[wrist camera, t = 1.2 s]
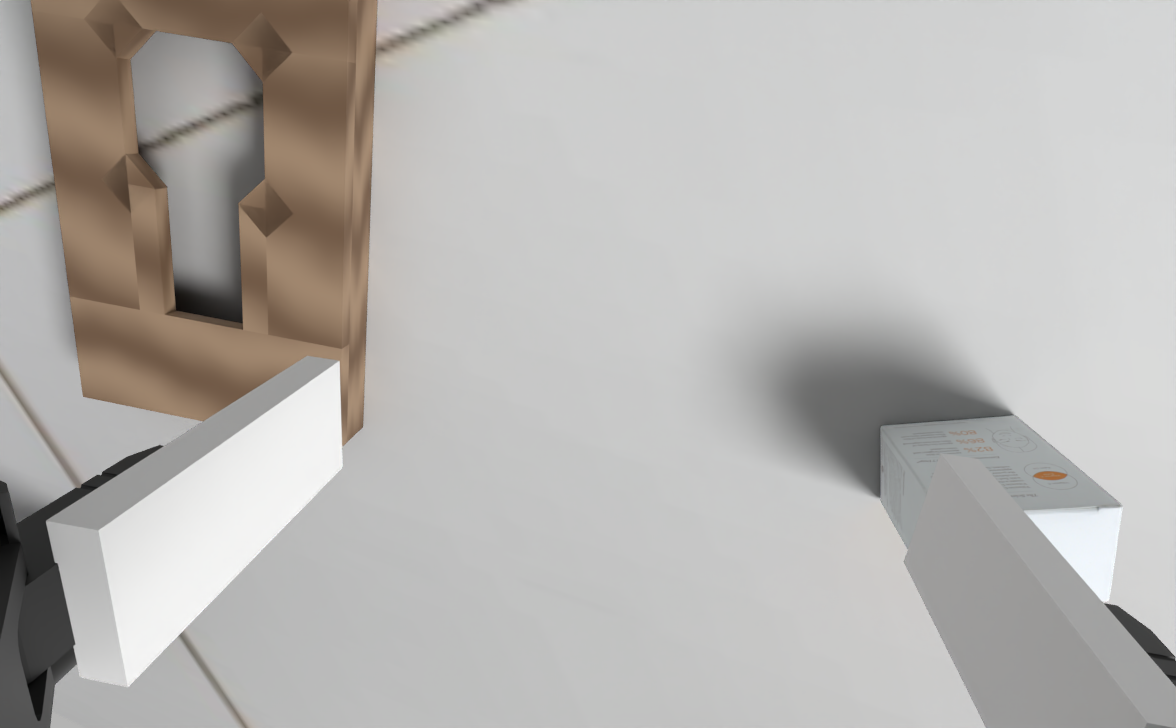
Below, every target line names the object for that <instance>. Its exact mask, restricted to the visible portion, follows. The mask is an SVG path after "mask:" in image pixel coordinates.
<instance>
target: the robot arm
mask: <svg viewBox="0 0 1176 728" xmlns="http://www.w3.org/2000/svg"><path fill="white" fill-rule="evenodd" d="M342 468H343V462H342V428H341V394H340V361H338V360H332V359H325V358H319V357H312V356H306V357H305V358H303V359H301V360H300V361H298V362H297V363H295V364H293V365H292V366H290V367H289V368H287V369H286V370H284V371H282V372H281V373H279V374H278V375H276V376H274V377H273V378H271V379H270V380H268V381H266V382H265V383H263V384H262V385H260V386H259V387H257V388H255V389H254V390H252V391H251V392H249V393H247V394H246V395H244V396H243V397H241V398H240V399H238V400H236V401H235V402H233V403H232V404H230V405H228V406H227V407H225V408H224V409H222V410H221V411H219V412H217V413H216V414H214V415H213V416H211V417H209V418H208V419H206V420H205V421H203V422H201V423H200V424H198V425H197V426H195V427H194V428H192V429H190V430H189V431H187V432H186V433H184V434H182V435H181V436H179V437H178V438H176V439H175V440H173V441H171V442H170V443H168V444H167V445H165V446H161V445H159V446H156V447H153V448H150V449H147V450H145V451H142V452H139V453H136V454H133V455H131V456H128V457H126V458H124V459H123V460H121V461H119V462H118V463H116V464H114V465H113V466H111V467H110V468H108V469H106V470H105V471H103V472H102V475H96V476H95V477H93V478H91V479H90V480H88V481H87V482H85V483H83V484H82V485H81V488H75V489H73V490H72V491H70V492H68V493H67V494H65V495H63V496H62V497H60V498H59V499H57V500H55V501H54V502H52V503H50V504H49V505H47V506H45V507H44V508H42V509H40V510H39V511H37V512H36V513H34V514H32V515H31V516H29V517H27V518H26V519H24V520H22V521H21V522H19V523H17V524H16V520H15V516H14V512H13V508H12V503H11V499H10V495H9V491H8V487H7V484H6V483H4V482H2V481H0V728H50V723H51V714H52V705H53V696H54V687H55V683H54V679H53V675H52V671H51V665H52V664H53V663H55V662H56V661H57V660H58V659H59V658H60V657H61V656H63V655H64V654H65V653H66V652H67V651H68V650H70V649H71V648H72V647H74V652H75V656H76V661H77V665H78V670H79V674H80V678H85V679H90V680H95V681H100V682H105V683H110V684H114V685H119V686H124V687H129V686H130V685H131V684H132V683H133V681H134V680H135V679H136V678H137V677H138V676H139V675H140V674H141V673H142V672H143V671H144V670H145V669H146V668H147V667H148V666H149V665H150V664H151V663H152V662H153V661H154V660H155V659H156V658H157V657H158V656H159V655H160V654H161V653H162V652H163V651H164V650H165V649H166V648H167V647H168V646H169V645H170V644H171V643H172V642H173V641H174V640H175V639H176V637H177V636H178V635H179V634H180V633H181V632H182V631H183V630H184V629H185V628H186V627H187V626H188V625H189V624H190V623H191V622H192V621H193V620H194V619H195V618H196V617H197V616H198V615H199V614H200V613H201V612H202V611H203V610H204V609H205V608H206V607H207V606H208V605H209V604H210V603H211V602H212V601H213V600H214V599H215V598H216V597H217V596H218V594H219V593H220V592H221V591H222V590H223V589H224V588H225V587H226V586H227V585H228V584H229V583H230V582H231V581H232V580H233V579H234V578H235V577H236V576H237V575H238V574H239V573H240V572H241V571H242V570H243V569H244V568H245V567H246V566H247V565H248V564H249V563H250V562H251V561H252V560H253V559H254V558H255V557H256V556H257V555H258V554H259V553H260V551H261V550H262V549H263V548H264V547H265V546H266V545H267V544H268V543H269V542H270V541H271V540H272V539H273V538H274V537H275V536H276V535H277V534H278V533H279V532H280V531H281V530H282V529H283V528H284V527H285V526H286V525H287V524H288V523H289V522H290V521H291V520H292V519H293V518H294V517H295V516H296V515H297V514H298V513H299V512H300V511H301V510H302V509H303V507H304V506H305V505H306V504H307V503H308V502H309V501H310V500H311V499H312V498H313V497H314V496H315V495H316V494H317V493H318V492H319V491H320V490H321V489H322V488H323V487H324V486H325V485H326V484H327V483H328V482H329V481H330V480H331V479H332V478H333V477H334V476H335V475H336V474H337V473H338V472H339V471H340V470H341V469H342ZM904 563H905V565H906V567H907V569H908V571H909V573H910V575H911V577H912V579H913V581H914V583H915V586H916V588H917V590H918V592H919V594H920V596H921V598H922V600H923V602H924V604H925V606H926V608H927V610H928V612H929V614H930V616H931V618H932V620H933V622H934V624H935V626H936V628H937V630H938V632H939V634H940V636H941V638H942V640H943V642H944V644H945V646H946V648H947V650H948V652H949V654H950V656H951V658H952V660H953V662H954V664H955V666H956V668H957V670H958V672H959V674H960V676H961V678H962V680H963V682H964V684H965V686H966V688H967V690H968V692H969V694H970V696H971V698H972V700H973V702H974V704H975V706H976V708H977V710H978V712H979V714H980V716H981V719H982V721H983V723H984V725H985V727H986V728H1176V661H1175V658H1176V657H1175V656H1174V655H1173V654H1172V653H1171V652H1170V651H1169V650H1168V648H1167V647H1166V646H1165V645H1164V644H1163V643H1162V642H1161V641H1160V640H1159V639H1158V637H1157V636H1156V635H1155V634H1154V633H1153V632H1152V631H1151V630H1150V629H1148V628H1147V627H1146V626H1144V625H1143V624H1142V623H1140V622H1139V621H1137V620H1136V619H1135V618H1133V617H1132V616H1131V615H1129V614H1128V613H1127V612H1125V611H1124V610H1122V609H1121V608H1120V607H1118V606H1117V605H1111V604H1105V603H1103V602H1102V601H1101V600H1100V599H1099V597H1098V596H1097V595H1096V594H1095V593H1094V592H1093V591H1092V589H1091V588H1090V587H1089V586H1088V585H1087V584H1086V582H1085V581H1084V580H1083V579H1082V578H1081V577H1080V576H1079V574H1078V573H1077V572H1076V571H1075V570H1074V569H1073V567H1072V566H1071V565H1070V564H1069V563H1068V562H1067V561H1066V559H1065V558H1064V557H1063V556H1062V555H1061V554H1060V552H1059V551H1058V550H1057V549H1056V548H1055V547H1054V545H1053V544H1052V543H1051V542H1050V541H1049V540H1048V539H1047V537H1046V536H1045V535H1044V534H1043V533H1042V532H1041V530H1040V529H1039V528H1038V527H1037V526H1036V525H1035V524H1034V522H1033V521H1032V520H1031V519H1030V518H1029V517H1028V515H1027V514H1026V513H1025V512H1024V511H1023V510H1022V509H1021V507H1020V506H1019V505H1018V504H1017V503H1016V502H1015V500H1014V499H1013V498H1012V497H1011V496H1010V495H1009V494H1008V492H1007V491H1006V490H1005V489H1004V488H1003V487H1002V485H1001V484H1000V483H999V482H998V481H997V480H996V478H995V477H994V476H993V475H992V474H991V473H990V472H989V470H988V469H987V468H986V467H985V466H984V465H983V463H982V462H981V461H980V460H979V459H975V458H969V457H962V456H956V455H949V454H943V453H940V456H939V459H938V462H937V465H936V468H935V471H934V474H933V477H932V480H931V483H930V486H929V489H928V492H927V495H926V498H925V500H924V503H923V506H922V509H921V512H920V515H919V518H918V521H917V524H916V527H915V530H914V533H913V536H912V539H911V542H910V545H909V548H908V551H907V554H906V557H905V560H904Z"/></svg>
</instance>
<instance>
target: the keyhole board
mask: <svg viewBox="0 0 1176 728" xmlns="http://www.w3.org/2000/svg"><path fill="white" fill-rule="evenodd" d="M31 7H32V14H33V22H34V29H35V37H36V44H37V52H38V60H39V67H40V75H41V82H42V90H43V97H44V105H45V112H46V120H47V128H48V135H49V143H50V150H51V158H52V165H53V173H54V181H55V188H56V196H57V203H58V211H59V218H60V226H61V233H62V241H63V249H64V256H65V264H66V271H67V279H68V286H69V294H70V302H71V309H72V317H73V324H74V332H75V339H76V347H77V355H78V362H79V370H80V377H81V385H82V392H83V397H87V398H92V399H97V400H102V401H107V402H112V403H116V404H121V405H126V406H131V407H136V408H141V409H146V410H151V411H156V412H160V413H165V414H170V415H175V416H180V417H185V418H190V419H195V420H200V421H205V420H206V419H208V418H209V417H211V416H213V415H214V414H216V413H217V412H219V411H221V410H222V409H224V408H225V407H227V406H228V405H230V404H232V403H233V402H235V401H236V400H238V399H240V398H241V397H243V396H244V395H246V394H247V393H249V392H251V391H252V390H254V389H255V388H257V387H259V386H260V385H262V384H263V383H265V382H266V381H268V380H270V379H271V378H273V377H274V376H276V375H278V374H279V373H281V372H282V371H284V370H286V369H287V368H289V367H290V366H292V365H293V364H295V363H297V362H298V361H300V360H301V359H303V358H305V357H306V356H312V357H319V358H325V359H332V360H338V361H340V394H341V428H342V446H343V445H345V444H346V443H347V442H348V441H349V440H350V439H351V438H352V437H353V436H354V435H355V434H356V433H357V432H358V431H359V430H360V429H361V428H362V427H363V411H364V381H365V352H366V322H367V292H368V262H369V233H370V203H371V173H372V143H373V114H374V84H375V54H376V24H377V0H31ZM156 31H160V32H166V33H172V34H178V35H185V36H191V37H197V38H203V39H209V40H215V41H222V42H228V43H232V44H233V45H234V46H235V48H236V49H237V50H238V51H239V53H240V54H241V55H242V56H243V58H244V59H245V60H246V62H247V63H248V64H249V65H250V67H251V68H252V69H253V70H254V72H255V73H256V74H257V75H258V77H259V78H260V79H261V81H262V82H263V116H264V161H265V179H264V180H263V181H262V182H261V183H260V184H259V185H258V186H256V187H255V188H254V189H253V190H252V191H251V192H250V193H249V194H248V195H247V196H246V197H245V198H243V199H242V200H241V201H240V202H239V203H238V205H239V230H240V257H241V285H242V313H243V323H238V322H233V321H228V320H222V319H217V318H212V317H207V316H202V315H196V314H191V313H186V312H181V311H176V305H175V291H174V278H173V264H172V250H171V237H170V223H169V210H168V196H167V186H166V185H165V184H164V183H163V181H162V180H161V179H160V178H159V177H158V176H157V174H156V173H155V172H154V171H153V170H152V169H151V167H150V166H149V165H148V164H147V163H146V161H145V160H144V159H143V158H142V157H141V156H140V154H139V153H138V141H137V130H136V118H135V107H134V95H133V84H132V72H131V61H130V59H131V58H132V57H133V56H134V55H135V54H136V53H137V52H138V50H139V49H140V48H141V47H142V46H143V45H144V44H145V43H146V42H147V40H148V39H149V38H150V37H151V36H152V35H153V34H154V33H155V32H156Z"/></svg>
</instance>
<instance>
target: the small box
mask: <svg viewBox="0 0 1176 728" xmlns="http://www.w3.org/2000/svg"><path fill="white" fill-rule="evenodd" d="M880 430H881V503H882V505H883V506H884V508H885V510H886V512H887V513H888V515H889V517H890V519H891V521H892V523H893V524H894V526H895V528H896V529H897V531H898V533H899V535H900V537H901V538H902V540H903V542H904V544H905V545H906V547H907V549H908V548H909V545H910V542H911V539H912V536H913V533H914V530H915V527H916V524H917V521H918V518H919V515H920V512H921V509H922V506H923V503H924V500H925V498H926V495H927V492H928V489H929V486H930V483H931V480H932V477H933V474H934V471H935V468H936V465H937V462H938V459H939V456H940V453H943V454H949V455H956V456H962V457H969V458H975V459H979V460H980V461H981V462H982V463H983V465H984V466H985V467H986V468H987V469H988V470H989V472H990V473H991V474H992V475H993V476H994V477H995V478H996V480H997V481H998V482H999V483H1000V484H1001V485H1002V487H1003V488H1004V489H1005V490H1006V491H1007V492H1008V494H1009V495H1010V496H1011V497H1012V498H1013V499H1014V500H1015V502H1016V503H1017V504H1018V505H1019V506H1020V507H1021V509H1022V510H1023V511H1024V512H1025V513H1026V514H1027V515H1028V517H1029V518H1030V519H1031V520H1032V521H1033V522H1034V524H1035V525H1036V526H1037V527H1038V528H1039V529H1040V530H1041V532H1042V533H1043V534H1044V535H1045V536H1046V537H1047V539H1048V540H1049V541H1050V542H1051V543H1052V544H1053V545H1054V547H1055V548H1056V549H1057V550H1058V551H1059V552H1060V554H1061V555H1062V556H1063V557H1064V558H1065V559H1066V561H1067V562H1068V563H1069V564H1070V565H1071V566H1072V567H1073V569H1074V570H1075V571H1076V572H1077V573H1078V574H1079V576H1080V577H1081V578H1082V579H1083V580H1084V581H1085V582H1086V584H1087V585H1088V586H1089V587H1090V588H1091V589H1092V591H1093V592H1094V593H1095V594H1096V595H1097V596H1098V597H1099V599H1100V600H1101V601H1102V602H1108V601H1109V598H1110V592H1111V585H1112V578H1113V571H1114V564H1115V557H1116V549H1117V542H1118V535H1119V529H1120V522H1121V516H1122V510H1123V506H1122V504H1121V503H1120V502H1118V501H1117V500H1116V499H1115V498H1114V497H1112V496H1111V495H1110V494H1109V493H1108V492H1107V491H1105V490H1104V489H1103V488H1102V487H1101V486H1099V485H1098V484H1097V483H1096V482H1095V481H1094V480H1092V479H1091V478H1090V477H1089V476H1087V475H1086V474H1085V473H1084V472H1083V471H1082V470H1080V469H1079V468H1078V467H1077V466H1076V465H1074V464H1073V463H1072V462H1071V461H1070V460H1069V459H1067V458H1066V457H1065V456H1064V455H1062V454H1061V453H1060V452H1059V451H1058V450H1057V449H1055V448H1054V447H1053V446H1052V445H1051V444H1049V443H1048V442H1047V441H1046V440H1045V439H1043V438H1042V437H1041V436H1040V435H1038V434H1037V433H1036V432H1035V431H1034V430H1033V429H1031V428H1030V427H1029V426H1028V425H1027V424H1025V423H1024V422H1023V421H1022V420H1021V419H1019V418H1018V417H1017V416H1015V415H1011V416H1001V417H987V418H974V419H962V420H949V421H935V422H923V423H911V424H897V425H883V426H881V427H880Z"/></svg>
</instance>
